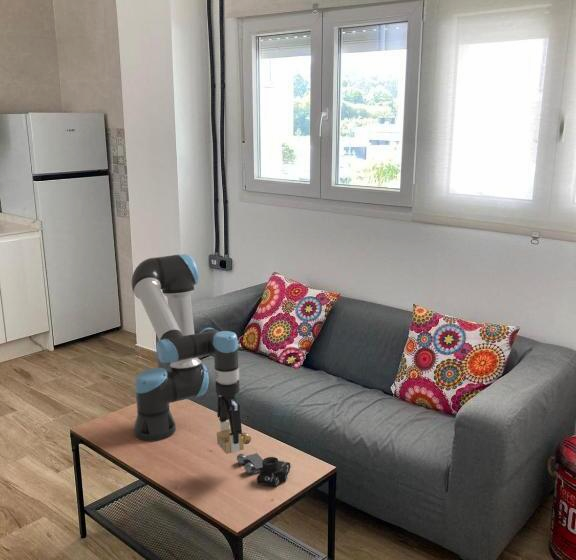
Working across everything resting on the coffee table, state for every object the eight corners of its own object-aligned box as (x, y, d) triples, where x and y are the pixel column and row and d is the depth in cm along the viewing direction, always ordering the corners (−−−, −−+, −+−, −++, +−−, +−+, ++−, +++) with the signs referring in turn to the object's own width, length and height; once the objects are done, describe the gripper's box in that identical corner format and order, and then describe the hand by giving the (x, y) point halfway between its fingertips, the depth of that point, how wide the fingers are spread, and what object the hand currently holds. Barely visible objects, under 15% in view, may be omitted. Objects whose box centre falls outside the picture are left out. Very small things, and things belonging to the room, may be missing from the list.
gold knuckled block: (244, 436, 215) (244, 425, 214) (254, 446, 208) (254, 435, 207) (217, 443, 210) (216, 432, 209) (226, 454, 203) (225, 442, 202)
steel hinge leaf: (257, 457, 219) (256, 449, 219) (268, 469, 211) (268, 461, 211) (236, 462, 216) (236, 454, 216) (247, 475, 208) (247, 467, 208)
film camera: (271, 447, 215) (294, 448, 209) (277, 468, 216) (300, 470, 210) (246, 467, 205) (269, 469, 198) (252, 489, 206) (276, 491, 199)
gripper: (205, 371, 210) (208, 434, 216) (228, 394, 192) (231, 463, 197) (226, 367, 213) (229, 429, 219) (251, 389, 195) (253, 457, 201)
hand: (230, 445), depth 208 cm, fingers closed on gold knuckled block, 8 cm apart
